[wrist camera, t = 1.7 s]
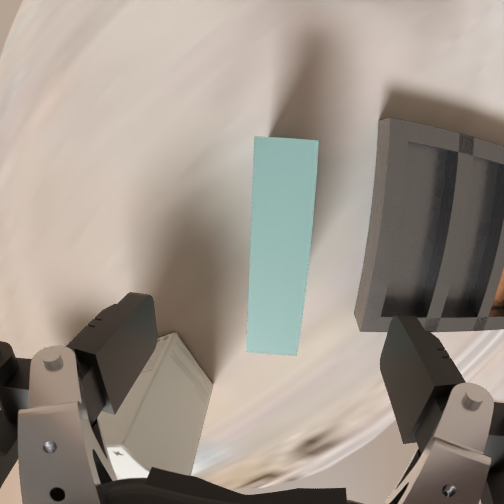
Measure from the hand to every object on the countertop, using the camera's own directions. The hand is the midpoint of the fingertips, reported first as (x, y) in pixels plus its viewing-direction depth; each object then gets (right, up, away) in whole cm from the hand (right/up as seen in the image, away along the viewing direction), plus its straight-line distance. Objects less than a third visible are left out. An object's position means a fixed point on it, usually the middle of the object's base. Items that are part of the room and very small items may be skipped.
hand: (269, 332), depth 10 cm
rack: (+19, +4, +14) cm, 24 cm away
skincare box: (-9, -10, +22) cm, 26 cm away
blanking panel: (+2, +5, +15) cm, 16 cm away
